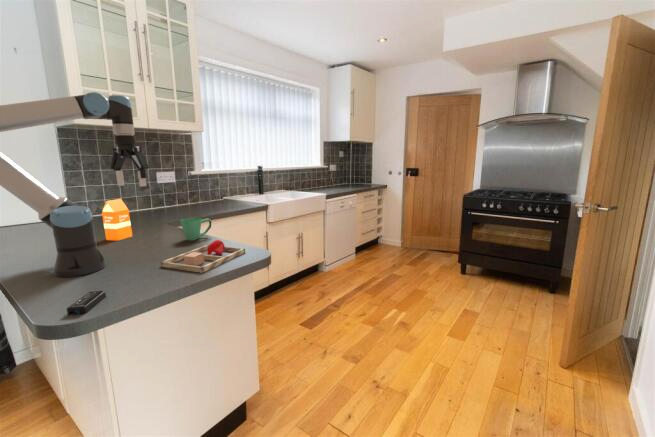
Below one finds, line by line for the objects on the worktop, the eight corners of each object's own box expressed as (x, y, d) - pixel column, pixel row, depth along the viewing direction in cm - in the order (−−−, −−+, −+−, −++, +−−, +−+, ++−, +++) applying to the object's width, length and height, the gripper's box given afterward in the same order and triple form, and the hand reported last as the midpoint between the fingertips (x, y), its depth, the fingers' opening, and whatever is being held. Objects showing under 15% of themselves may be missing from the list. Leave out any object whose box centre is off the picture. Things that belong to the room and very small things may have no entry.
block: (195, 267, 119) (194, 256, 118) (184, 266, 120) (183, 256, 120) (204, 262, 124) (203, 253, 123) (193, 261, 125) (192, 252, 124)
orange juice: (105, 239, 161) (99, 201, 158) (120, 235, 170) (115, 198, 166) (118, 240, 160) (112, 201, 156) (132, 236, 168) (127, 198, 164)
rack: (202, 272, 112) (201, 268, 112) (161, 266, 120) (160, 262, 119) (245, 252, 135) (245, 248, 135) (208, 248, 143) (207, 244, 142)
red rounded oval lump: (221, 243, 138) (208, 238, 134) (227, 241, 134) (214, 236, 130) (215, 261, 135) (202, 256, 131) (222, 259, 131) (208, 254, 127)
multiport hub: (107, 297, 95) (105, 290, 95) (85, 315, 84) (84, 307, 84) (90, 298, 94) (89, 291, 94) (67, 317, 84) (65, 308, 83)
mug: (184, 242, 152) (182, 222, 150) (180, 238, 160) (178, 219, 158) (215, 237, 161) (213, 218, 159) (210, 234, 169) (208, 215, 167)
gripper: (154, 134, 131) (160, 185, 135) (113, 136, 141) (120, 184, 145) (137, 133, 124) (144, 187, 129) (95, 136, 134) (103, 186, 138)
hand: (132, 186), depth 137 cm, fingers open, 13 cm apart
